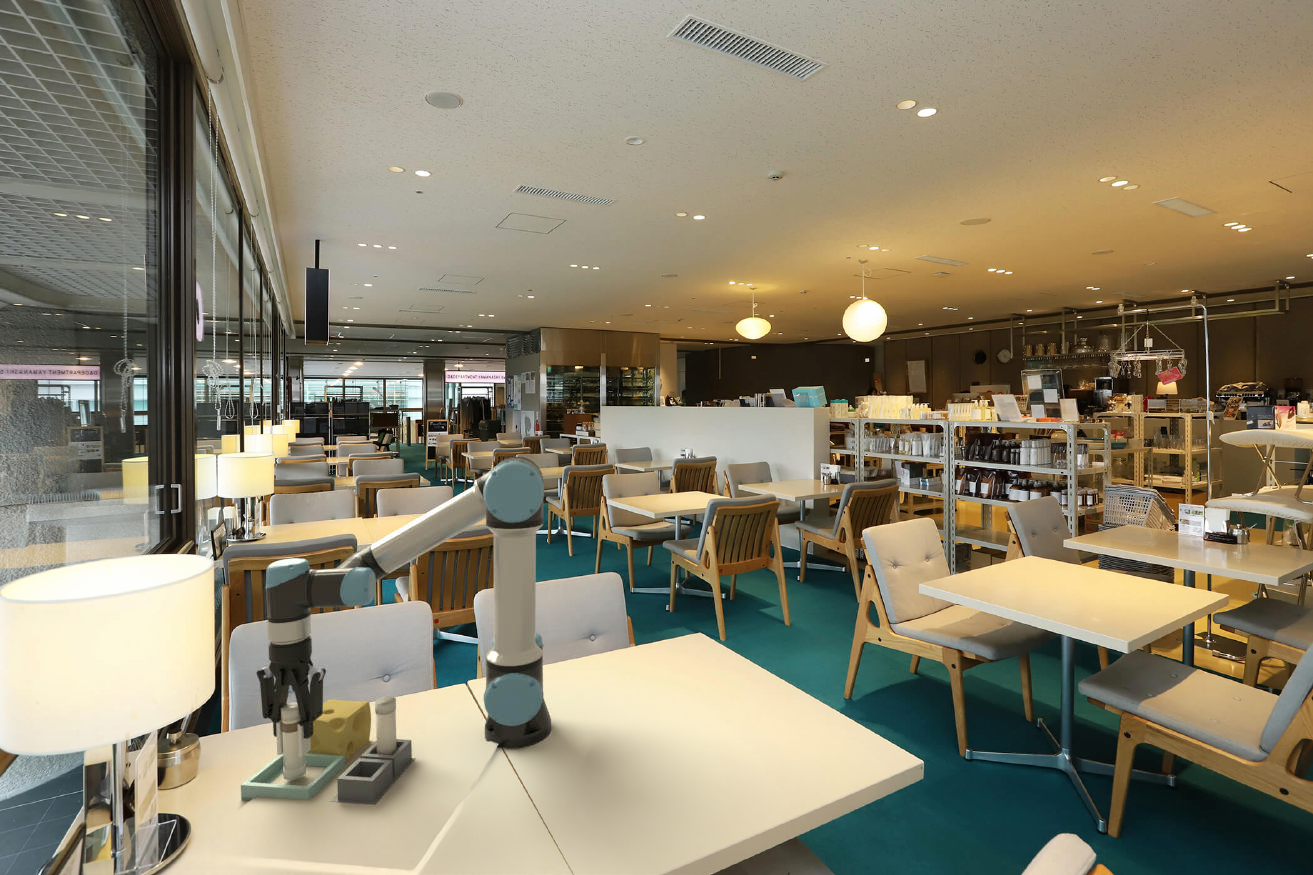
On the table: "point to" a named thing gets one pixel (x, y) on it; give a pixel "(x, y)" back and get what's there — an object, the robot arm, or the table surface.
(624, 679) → the table surface
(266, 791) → the pale green rectangular frame
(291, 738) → the banded white cylinder
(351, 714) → the cheese
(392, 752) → the fuse block
